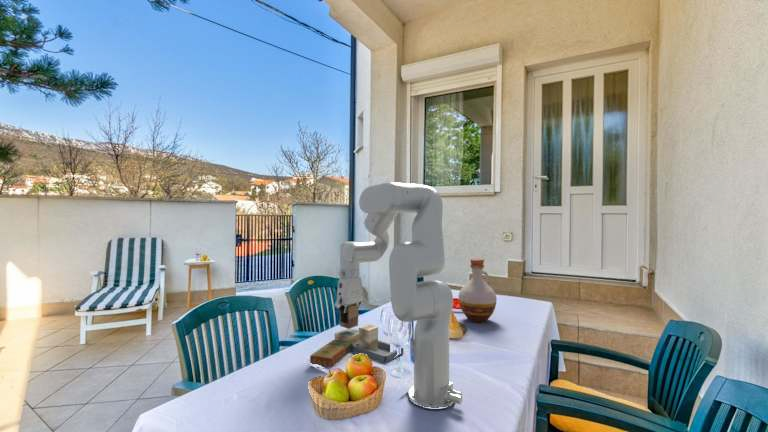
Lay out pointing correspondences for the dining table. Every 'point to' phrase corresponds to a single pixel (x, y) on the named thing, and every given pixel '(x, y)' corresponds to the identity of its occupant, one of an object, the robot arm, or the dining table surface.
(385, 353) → the tray
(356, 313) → the walnut block
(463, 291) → the jug
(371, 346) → the beech block
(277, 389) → the dining table surface
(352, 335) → the stand
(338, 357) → the reddish brown flat block
